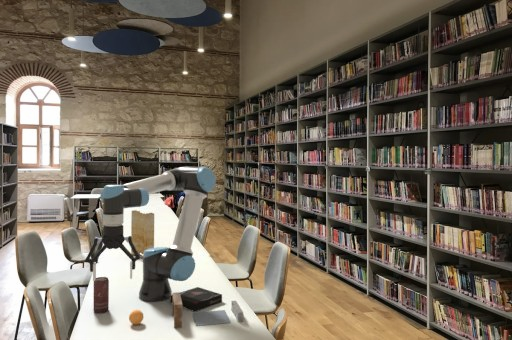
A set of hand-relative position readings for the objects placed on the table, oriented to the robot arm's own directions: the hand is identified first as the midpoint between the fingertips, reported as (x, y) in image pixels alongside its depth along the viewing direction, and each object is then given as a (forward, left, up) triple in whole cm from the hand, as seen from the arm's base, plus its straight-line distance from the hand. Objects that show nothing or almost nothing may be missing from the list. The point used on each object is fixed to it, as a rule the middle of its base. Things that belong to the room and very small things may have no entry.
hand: (112, 278), depth 162 cm
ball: (0, +9, -16) cm, 18 cm away
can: (-18, -6, -19) cm, 27 cm away
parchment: (-112, +10, -19) cm, 114 cm away
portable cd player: (-20, +35, -20) cm, 45 cm away
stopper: (0, +50, -19) cm, 53 cm away
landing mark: (0, +39, -19) cm, 43 cm away
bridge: (0, +25, -19) cm, 31 cm away
